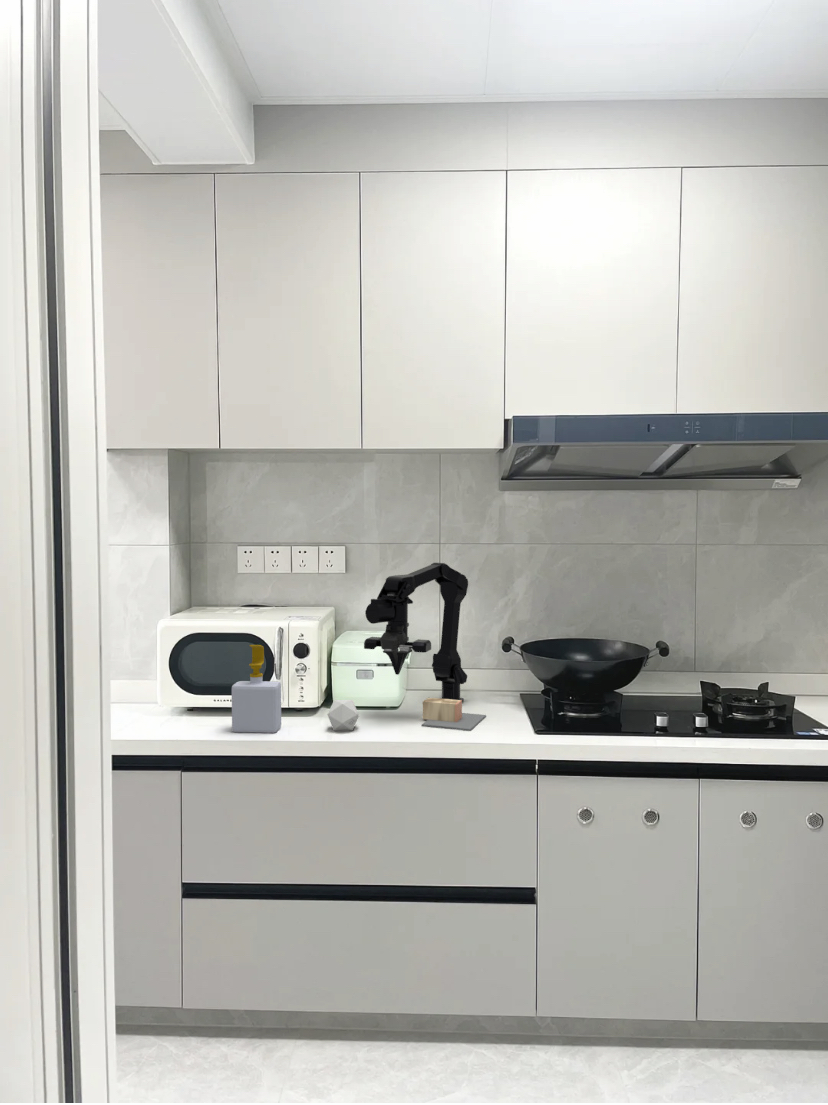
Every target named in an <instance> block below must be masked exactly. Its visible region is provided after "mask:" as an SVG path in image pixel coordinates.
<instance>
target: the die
mask: <svg viewBox="0 0 828 1105" xmlns="http://www.w3.org/2000/svg"><path fill="white" fill-rule="evenodd" d="M327 716H328V719H329V722H330V725H331V727H332V730H333V731H335V732H337V731H338V732H340V731H344V732H345V731H349V730H352V731H353V730H354V728H355V726H356V723H357V722H358V720H359V717H360V715H359V713H358V709H357V707H356V704H355V702H354V700H353V699H335V700H333V702H332V704H331V706H330V708H329V710H328V712H327Z"/></svg>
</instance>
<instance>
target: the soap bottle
mask: <svg viewBox="0 0 828 1105" xmlns="http://www.w3.org/2000/svg"><path fill="white" fill-rule="evenodd" d="M249 647H250V648H251V653H252V654H251V657H252V658H251V663H249V664H248V666H249V667H250V669H252V672H251V673H250V674H249V680H240V681H237V682H235V683H234V684H232V686H231V730H232V732H233V733H254V734H255V733H264V734H268V733H269V734H273V733H274V734H275V733H277V732H278V731H279V730H280V728H282V684H281V682H280V681H270V680H269V681H266V680H265V681H263V676H264V675H263V673H262V672H260V669H262V667H263V666H262V665H263V664H265V648H264V646H263V645H261V644H249Z"/></svg>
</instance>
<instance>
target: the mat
mask: <svg viewBox="0 0 828 1105" xmlns="http://www.w3.org/2000/svg"><path fill="white" fill-rule="evenodd" d="M486 717H487V715H486V714H479V713H471V712H470V713H469V712H462V718H461V719H460V720H459V721H457V722H450V721H439V720H428V719H426V720H425V721H424V722H422V723H421V727H425V728H436V729H437V728H438V729H444V730H445V729H448V730H456V731H457V730H458V731H466V732H467V731H468V732H471V731H472V730H473V729H475V728H476V727H477V726H478V725H479V724H480V723H481V722H482V721H483V720H484V719H485V718H486Z"/></svg>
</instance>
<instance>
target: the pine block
mask: <svg viewBox="0 0 828 1105" xmlns="http://www.w3.org/2000/svg"><path fill="white" fill-rule="evenodd" d="M462 713H463V701H462V700H452V699H441V698H439V697H438V698H437V697H427V698H426V699H424V700H423V701H422V720H439V721H450V722H457V721H459V720H460V719H461V718H462Z"/></svg>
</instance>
